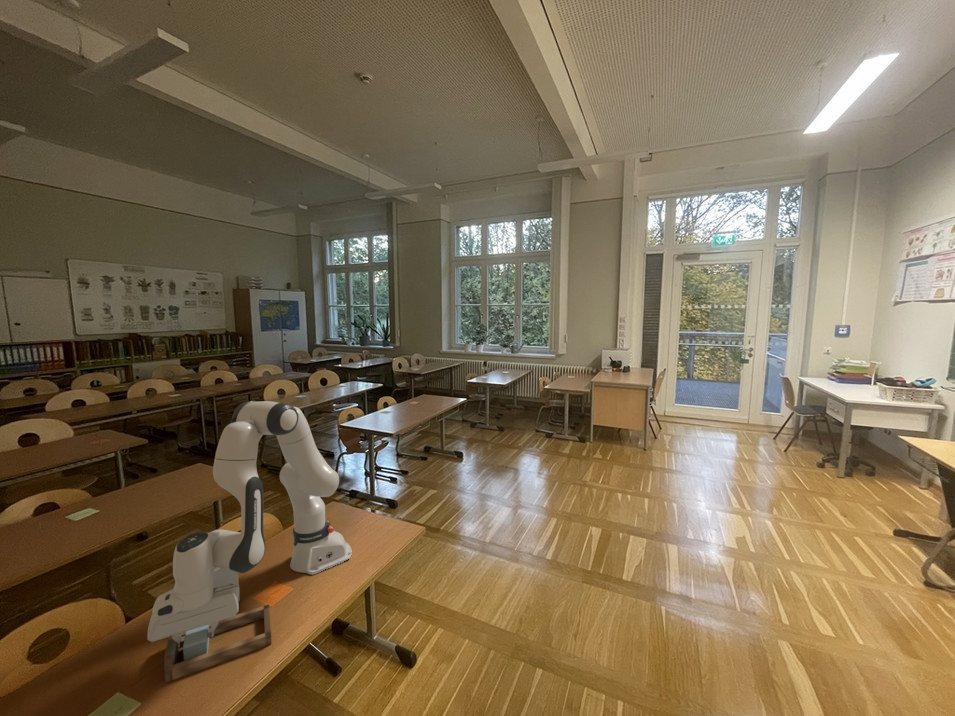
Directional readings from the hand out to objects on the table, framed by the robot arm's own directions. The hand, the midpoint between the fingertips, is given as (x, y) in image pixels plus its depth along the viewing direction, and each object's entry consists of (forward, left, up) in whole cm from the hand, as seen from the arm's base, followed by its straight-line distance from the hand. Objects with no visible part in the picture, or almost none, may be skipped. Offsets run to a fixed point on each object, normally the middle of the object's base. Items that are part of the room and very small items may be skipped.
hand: (196, 640), depth 106 cm
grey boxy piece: (0, 0, -4) cm, 4 cm away
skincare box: (-5, -18, -4) cm, 19 cm away
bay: (-6, 0, -4) cm, 7 cm away
